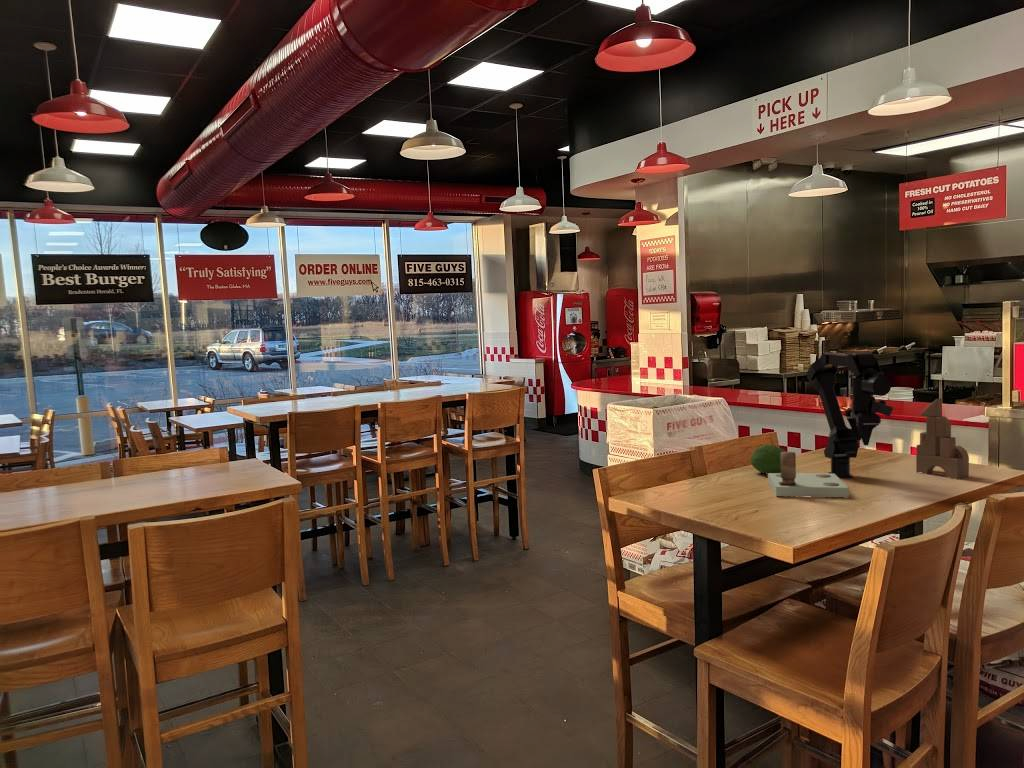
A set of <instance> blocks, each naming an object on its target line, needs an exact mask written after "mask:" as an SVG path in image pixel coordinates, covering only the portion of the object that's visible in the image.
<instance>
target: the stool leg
mask: <svg viewBox="0 0 1024 768" xmlns="http://www.w3.org/2000/svg"><path fill="white" fill-rule="evenodd" d="M796 459H797V456H796V452H794V451H786V452H781V478H782V486H795V478H796V473H797V469H796V468H797V467H796V466H797V465H796V464H797V463H796Z"/></svg>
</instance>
